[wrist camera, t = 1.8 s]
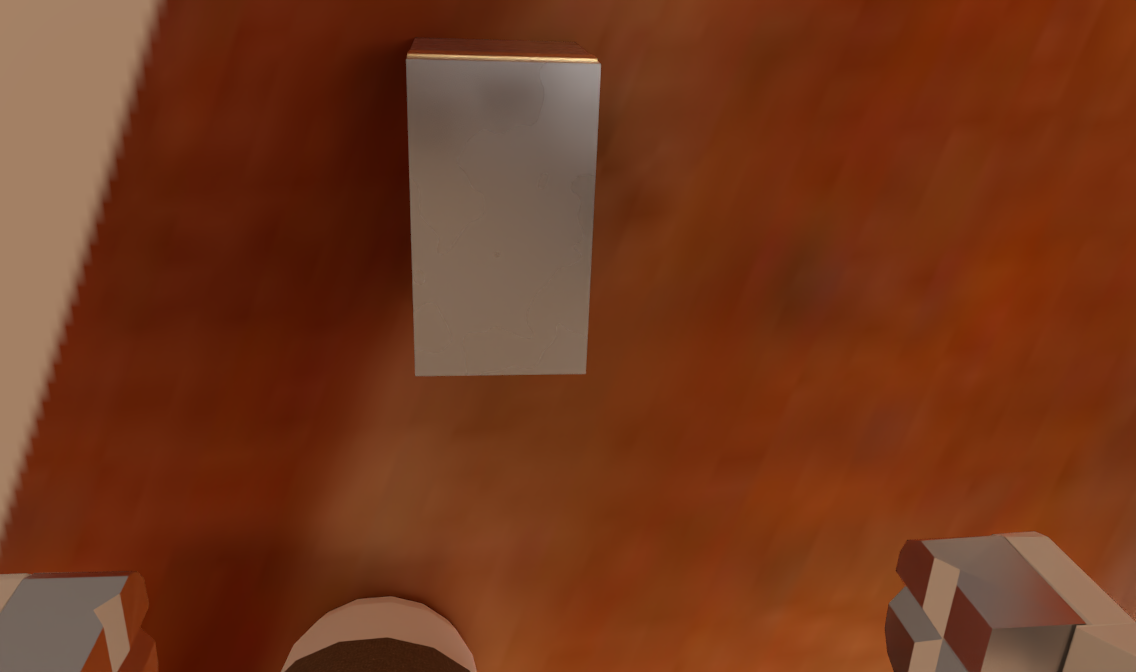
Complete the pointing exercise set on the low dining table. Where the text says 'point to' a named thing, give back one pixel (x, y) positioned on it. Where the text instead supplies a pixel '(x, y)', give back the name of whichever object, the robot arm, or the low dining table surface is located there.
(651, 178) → the low dining table surface
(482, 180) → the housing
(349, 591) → the low dining table surface
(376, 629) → the coffee cup
